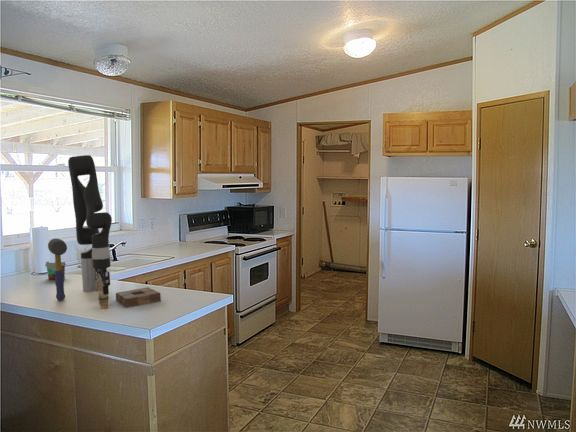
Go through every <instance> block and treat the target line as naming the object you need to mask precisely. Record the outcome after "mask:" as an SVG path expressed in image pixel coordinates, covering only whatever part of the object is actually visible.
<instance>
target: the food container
mask: <svg viewBox="0 0 576 432" xmlns="http://www.w3.org/2000/svg"><path fill="white" fill-rule="evenodd" d="M66 266H67V265H66V262H65V261H61V267H62V271H63V276H64V279H65V277H66V276H65V275H66V274H65V273H66V272H65V271H66V270H65V269H66ZM45 267H46V272H47V277H48V278H47V279H48V280H50V281H55V272H56V265H55V262H50V261H49V260H48V261H45Z"/></svg>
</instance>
